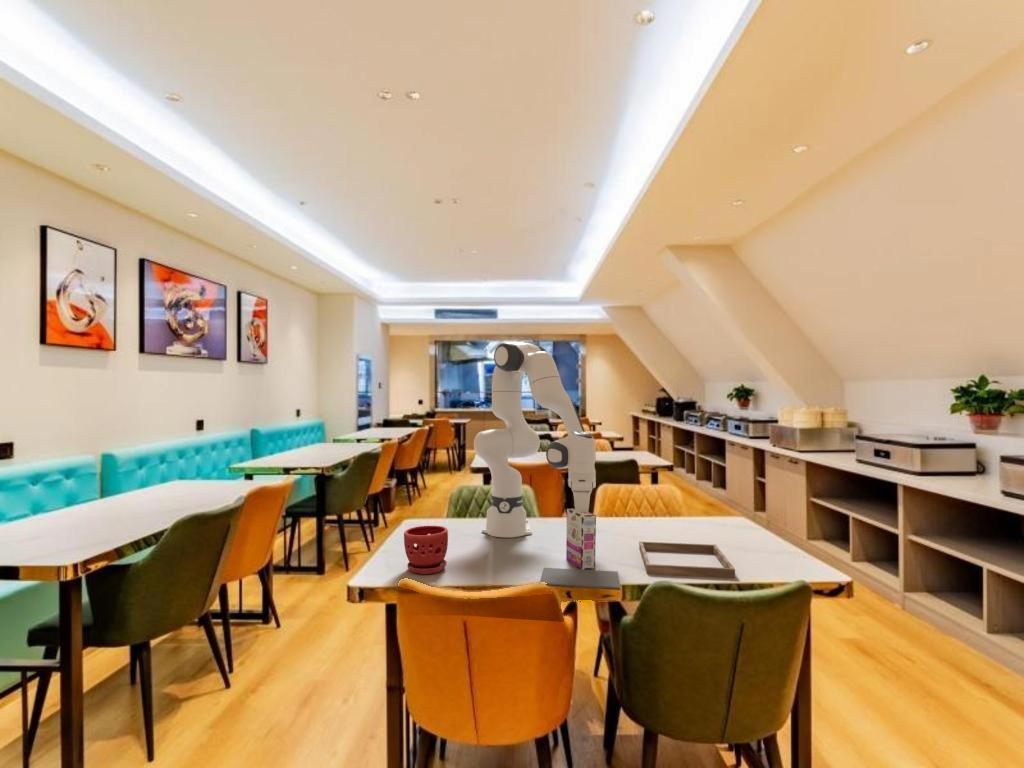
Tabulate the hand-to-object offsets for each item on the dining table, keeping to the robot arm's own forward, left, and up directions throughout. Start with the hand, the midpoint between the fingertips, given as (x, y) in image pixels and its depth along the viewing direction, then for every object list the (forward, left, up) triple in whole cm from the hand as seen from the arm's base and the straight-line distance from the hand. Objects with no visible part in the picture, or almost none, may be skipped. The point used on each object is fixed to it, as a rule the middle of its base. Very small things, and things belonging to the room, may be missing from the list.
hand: (581, 523), depth 182 cm
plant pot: (+21, -46, -11) cm, 52 cm away
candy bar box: (+9, 0, -11) cm, 14 cm away
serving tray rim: (+2, +32, -10) cm, 33 cm away
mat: (+22, 0, -10) cm, 25 cm away
